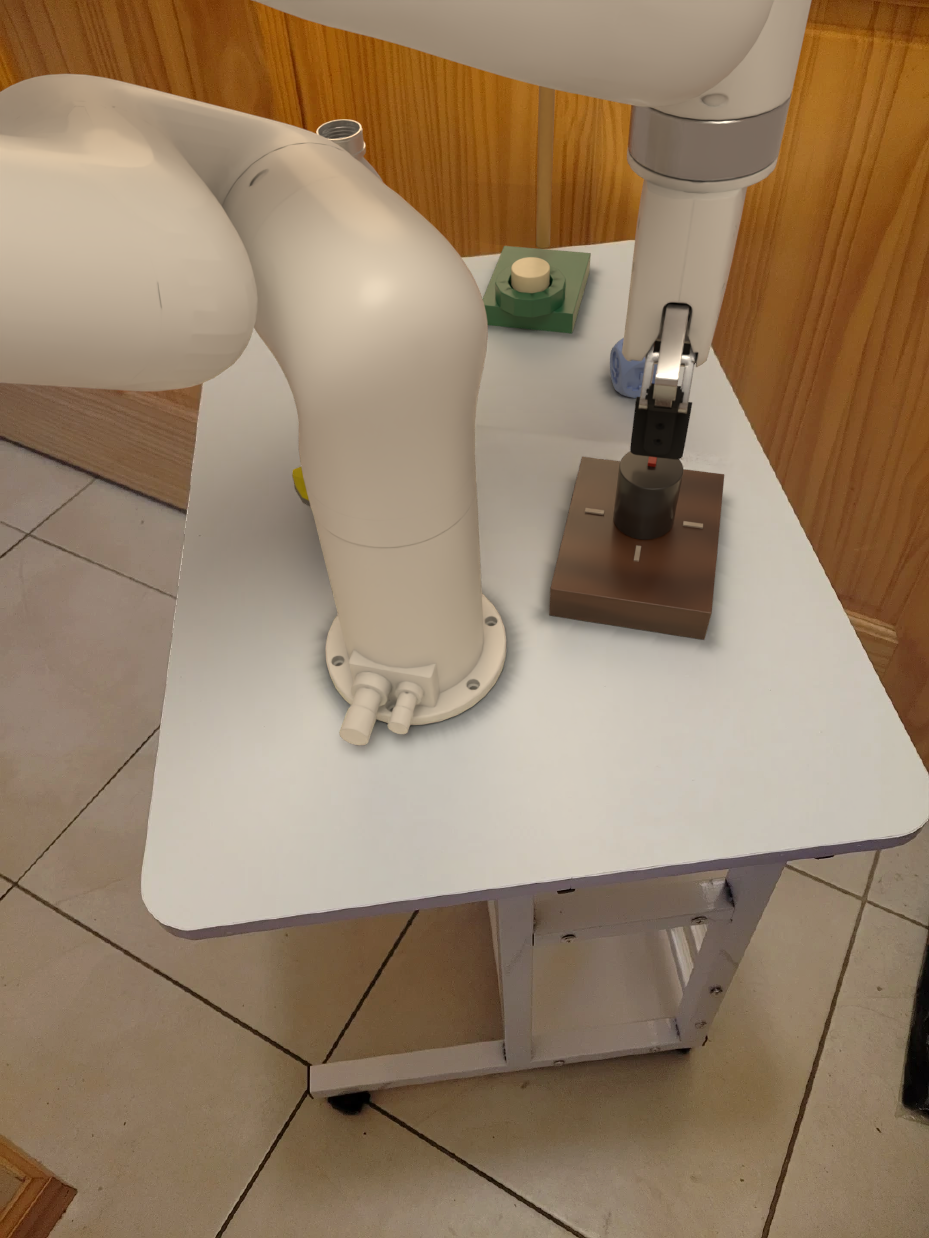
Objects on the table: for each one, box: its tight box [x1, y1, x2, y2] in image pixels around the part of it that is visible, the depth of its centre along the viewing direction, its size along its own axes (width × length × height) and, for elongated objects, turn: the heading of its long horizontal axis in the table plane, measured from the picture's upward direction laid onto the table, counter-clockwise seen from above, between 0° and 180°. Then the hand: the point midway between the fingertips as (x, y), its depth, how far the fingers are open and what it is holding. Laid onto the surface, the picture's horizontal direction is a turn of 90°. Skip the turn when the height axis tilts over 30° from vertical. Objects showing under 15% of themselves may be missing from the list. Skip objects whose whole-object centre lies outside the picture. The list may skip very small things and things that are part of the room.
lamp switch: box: [511, 257, 550, 293], centre depth 84 cm, size 4×4×2 cm
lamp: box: [535, 86, 556, 249], centre depth 79 cm, size 6×6×26 cm
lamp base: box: [482, 245, 592, 334], centre depth 88 cm, size 12×9×4 cm
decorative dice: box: [609, 337, 657, 399], centre depth 79 cm, size 4×4×4 cm
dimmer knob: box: [613, 450, 684, 540], centre depth 64 cm, size 4×4×5 cm
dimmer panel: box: [548, 456, 725, 641], centre depth 66 cm, size 14×11×3 cm
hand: (664, 404), depth 58 cm, fingers open, 9 cm apart
